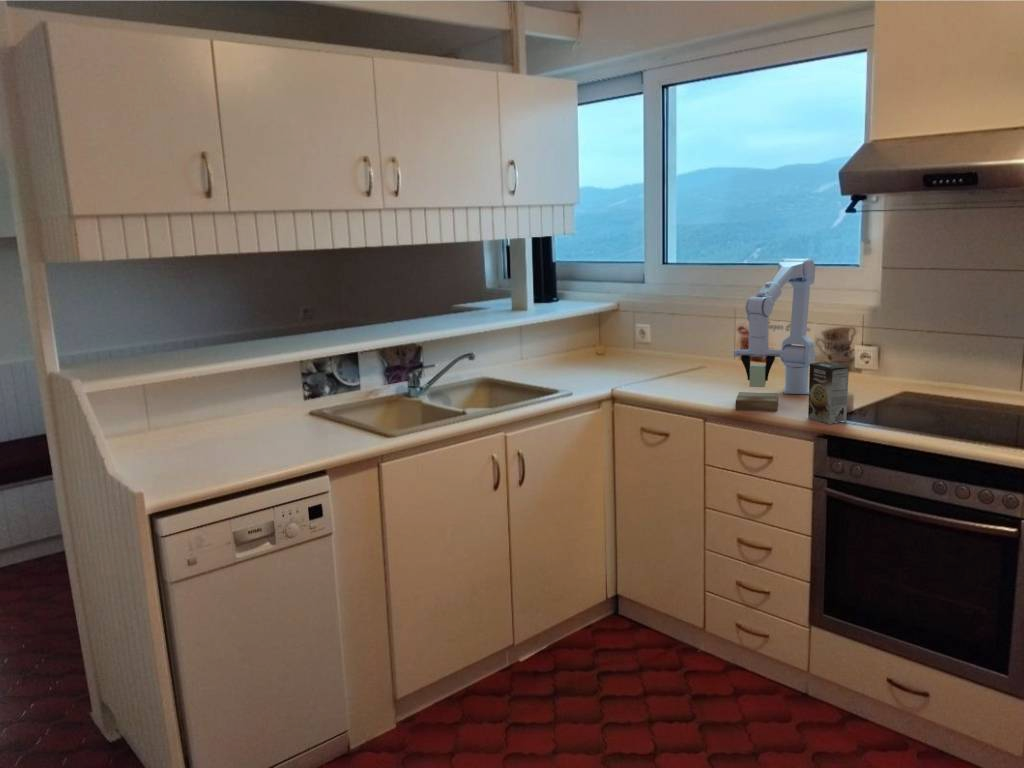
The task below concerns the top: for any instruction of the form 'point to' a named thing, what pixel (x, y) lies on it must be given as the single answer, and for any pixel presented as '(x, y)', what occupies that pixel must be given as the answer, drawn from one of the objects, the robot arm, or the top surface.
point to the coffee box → (828, 392)
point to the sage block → (757, 375)
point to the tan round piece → (850, 402)
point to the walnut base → (757, 401)
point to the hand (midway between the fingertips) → (757, 379)
